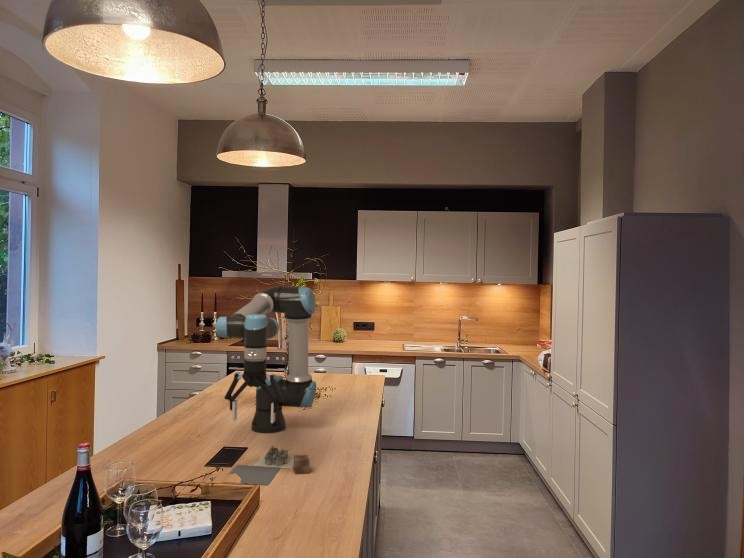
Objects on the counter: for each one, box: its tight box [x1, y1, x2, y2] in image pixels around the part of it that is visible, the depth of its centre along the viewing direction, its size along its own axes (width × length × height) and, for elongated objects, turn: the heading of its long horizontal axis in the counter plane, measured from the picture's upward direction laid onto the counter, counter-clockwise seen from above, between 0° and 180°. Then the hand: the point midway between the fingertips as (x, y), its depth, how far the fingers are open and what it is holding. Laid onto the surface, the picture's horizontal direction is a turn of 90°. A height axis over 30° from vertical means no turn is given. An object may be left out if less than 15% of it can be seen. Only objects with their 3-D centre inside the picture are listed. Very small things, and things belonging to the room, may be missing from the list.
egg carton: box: [264, 445, 290, 466], centre depth 196 cm, size 11×8×4 cm
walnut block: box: [292, 454, 310, 476], centre depth 187 cm, size 5×5×5 cm
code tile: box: [253, 454, 294, 470], centre depth 196 cm, size 14×12×1 cm
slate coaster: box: [227, 464, 282, 486], centre depth 182 cm, size 16×16×1 cm
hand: (253, 421), depth 182 cm, fingers open, 13 cm apart
